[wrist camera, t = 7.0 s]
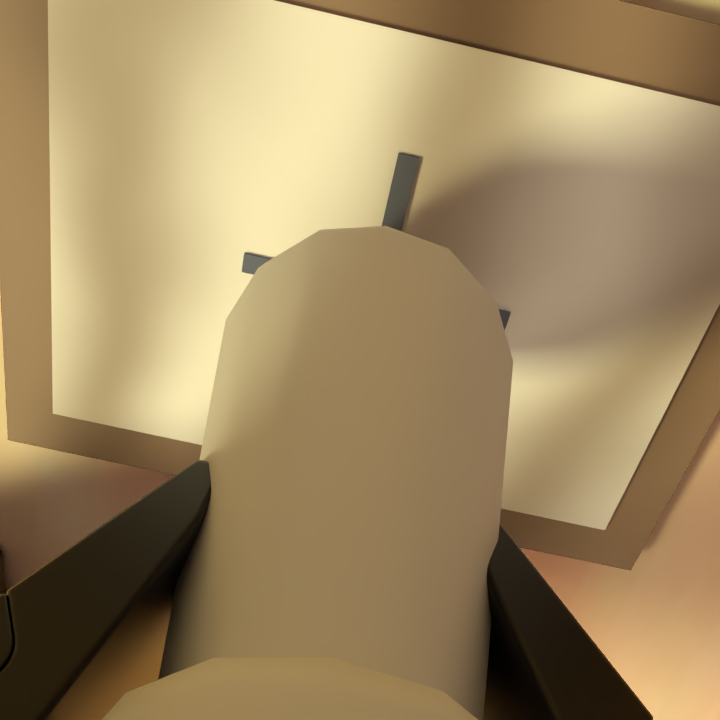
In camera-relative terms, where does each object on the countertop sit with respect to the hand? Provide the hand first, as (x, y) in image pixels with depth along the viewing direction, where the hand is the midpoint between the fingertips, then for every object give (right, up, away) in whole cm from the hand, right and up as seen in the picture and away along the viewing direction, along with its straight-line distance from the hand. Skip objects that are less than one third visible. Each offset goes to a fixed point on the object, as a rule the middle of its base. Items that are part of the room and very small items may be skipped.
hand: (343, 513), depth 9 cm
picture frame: (+1, +4, +8) cm, 10 cm away
